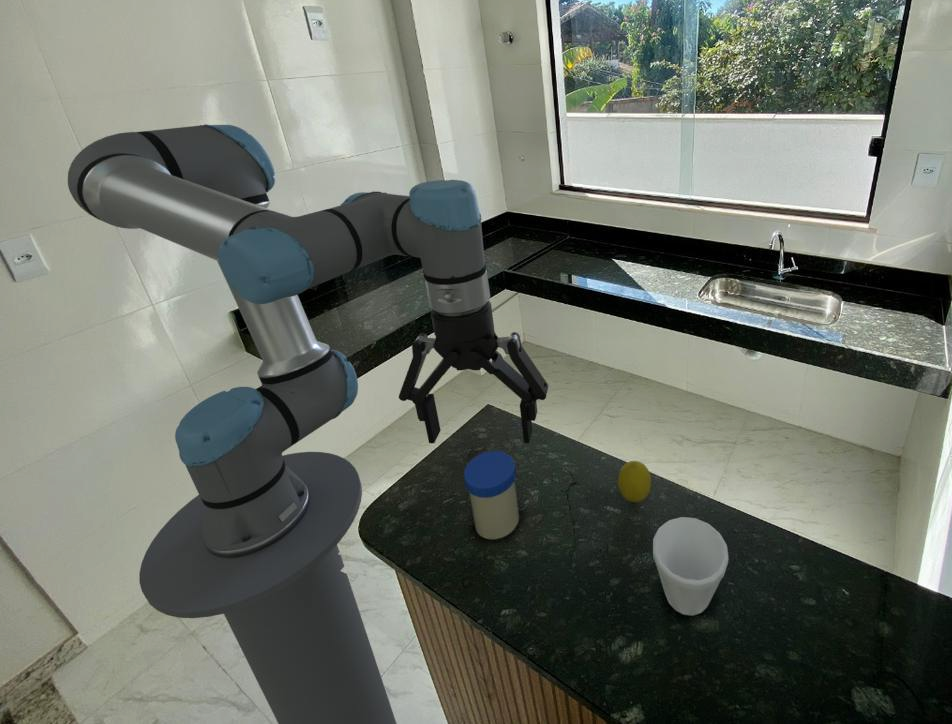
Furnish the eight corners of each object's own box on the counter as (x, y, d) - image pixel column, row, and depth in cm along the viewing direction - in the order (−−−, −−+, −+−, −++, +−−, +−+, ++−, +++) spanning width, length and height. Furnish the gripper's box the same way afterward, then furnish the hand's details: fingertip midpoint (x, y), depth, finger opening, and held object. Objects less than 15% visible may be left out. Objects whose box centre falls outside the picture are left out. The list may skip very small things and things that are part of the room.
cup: (637, 598, 68) (637, 552, 64) (676, 548, 74) (678, 504, 71) (700, 649, 61) (704, 601, 58) (736, 589, 68) (742, 543, 65)
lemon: (612, 501, 83) (611, 465, 80) (631, 481, 87) (631, 446, 84) (638, 518, 80) (638, 481, 77) (657, 497, 84) (658, 461, 80)
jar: (465, 531, 78) (456, 481, 74) (491, 497, 84) (483, 450, 80) (504, 545, 76) (496, 494, 72) (527, 509, 82) (521, 461, 78)
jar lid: (454, 489, 75) (453, 480, 74) (484, 454, 81) (482, 445, 81) (498, 504, 72) (496, 494, 71) (525, 467, 79) (524, 457, 78)
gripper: (350, 319, 59) (385, 455, 67) (554, 316, 58) (564, 455, 66) (378, 293, 66) (406, 419, 74) (561, 290, 65) (569, 419, 73)
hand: (481, 436), depth 70 cm, fingers open, 13 cm apart
